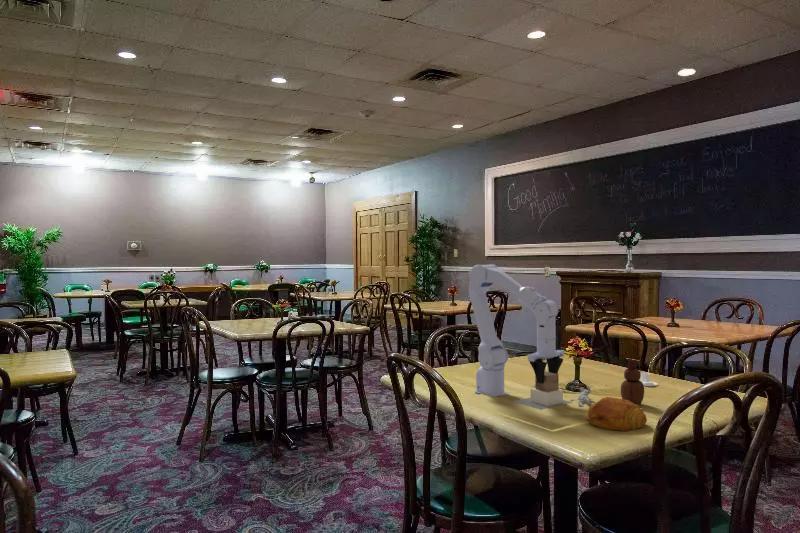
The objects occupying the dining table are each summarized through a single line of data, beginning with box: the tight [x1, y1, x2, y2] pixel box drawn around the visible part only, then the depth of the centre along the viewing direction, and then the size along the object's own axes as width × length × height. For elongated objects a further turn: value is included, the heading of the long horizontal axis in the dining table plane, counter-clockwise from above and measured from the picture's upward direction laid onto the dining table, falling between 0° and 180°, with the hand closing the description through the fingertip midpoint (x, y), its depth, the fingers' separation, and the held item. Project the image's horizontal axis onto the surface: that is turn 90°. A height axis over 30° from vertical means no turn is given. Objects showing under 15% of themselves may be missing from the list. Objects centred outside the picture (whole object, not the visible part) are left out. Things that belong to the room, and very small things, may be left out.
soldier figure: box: [569, 385, 592, 408], centre depth 178 cm, size 8×5×12 cm
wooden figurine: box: [620, 356, 645, 406], centre depth 177 cm, size 7×6×15 cm
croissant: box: [587, 396, 648, 432], centre depth 157 cm, size 14×16×8 cm
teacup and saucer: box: [640, 372, 659, 387], centre depth 204 cm, size 9×8×4 cm
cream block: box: [530, 387, 564, 406], centre depth 179 cm, size 7×7×4 cm
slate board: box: [512, 396, 573, 411], centre depth 179 cm, size 12×14×1 cm
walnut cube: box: [534, 370, 560, 392], centre depth 179 cm, size 5×5×5 cm
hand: (546, 381), depth 179 cm, fingers closed on walnut cube, 5 cm apart
